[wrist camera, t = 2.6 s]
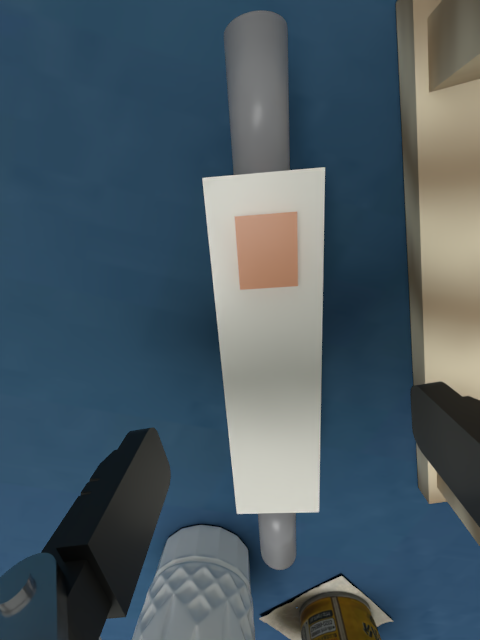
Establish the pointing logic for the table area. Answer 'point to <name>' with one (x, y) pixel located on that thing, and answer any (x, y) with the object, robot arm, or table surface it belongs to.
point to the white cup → (199, 589)
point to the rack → (442, 202)
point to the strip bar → (268, 290)
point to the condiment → (329, 614)
